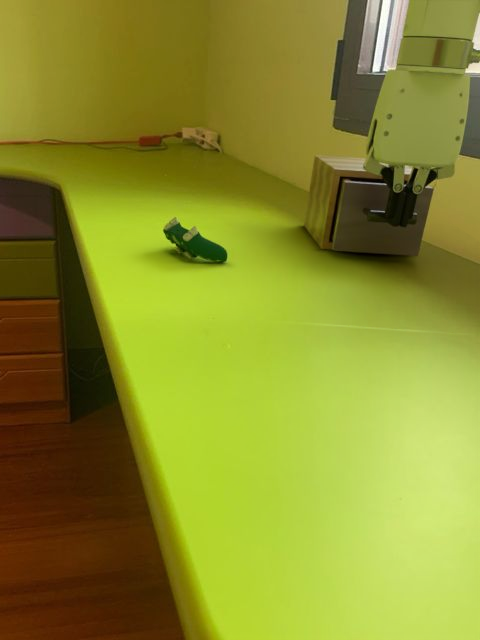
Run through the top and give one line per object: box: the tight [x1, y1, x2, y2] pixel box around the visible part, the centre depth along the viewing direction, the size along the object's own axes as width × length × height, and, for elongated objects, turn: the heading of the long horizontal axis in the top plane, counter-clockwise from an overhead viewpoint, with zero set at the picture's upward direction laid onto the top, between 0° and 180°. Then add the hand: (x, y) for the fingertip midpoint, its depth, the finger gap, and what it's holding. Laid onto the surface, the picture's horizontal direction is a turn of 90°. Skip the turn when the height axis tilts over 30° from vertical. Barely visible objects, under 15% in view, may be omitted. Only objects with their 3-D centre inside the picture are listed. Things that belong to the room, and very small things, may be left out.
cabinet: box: [303, 154, 413, 251], centre depth 103 cm, size 16×13×11 cm
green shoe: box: [162, 216, 228, 263], centre depth 89 cm, size 9×4×6 cm
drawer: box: [330, 176, 435, 257], centre depth 96 cm, size 19×12×9 cm, turn 178°
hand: (396, 224), depth 86 cm, fingers closed
